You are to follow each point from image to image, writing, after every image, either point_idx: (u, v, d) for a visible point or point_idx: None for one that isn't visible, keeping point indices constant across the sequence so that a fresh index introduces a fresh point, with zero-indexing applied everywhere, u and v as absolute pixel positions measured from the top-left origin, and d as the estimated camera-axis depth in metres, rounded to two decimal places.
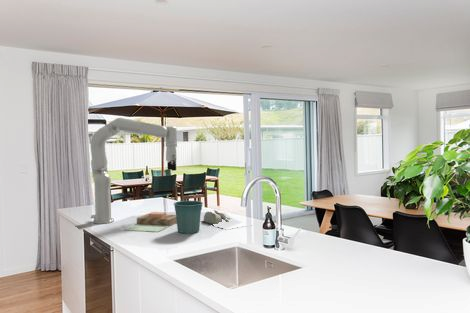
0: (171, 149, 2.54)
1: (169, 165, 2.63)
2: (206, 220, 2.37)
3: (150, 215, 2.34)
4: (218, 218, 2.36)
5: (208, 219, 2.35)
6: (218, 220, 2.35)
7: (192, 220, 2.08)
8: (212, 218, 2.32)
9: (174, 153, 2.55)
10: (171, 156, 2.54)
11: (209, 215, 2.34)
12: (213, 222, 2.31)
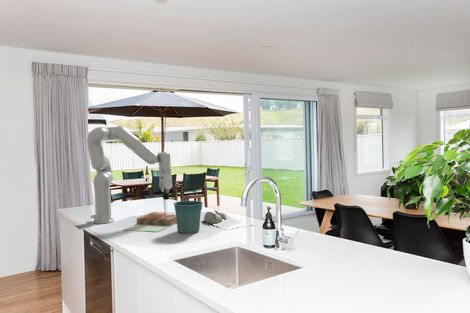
0: None
1: None
2: (206, 220, 2.37)
3: (150, 215, 2.34)
4: (218, 218, 2.36)
5: (208, 219, 2.35)
6: (218, 220, 2.35)
7: (192, 220, 2.08)
8: (212, 218, 2.32)
9: None
10: None
11: (209, 215, 2.35)
12: (213, 222, 2.31)
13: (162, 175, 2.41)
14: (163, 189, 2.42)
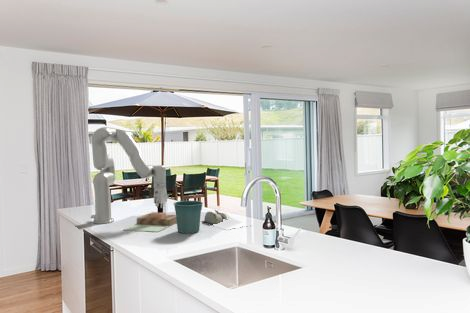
0: None
1: None
2: (207, 220, 2.37)
3: (150, 215, 2.33)
4: (219, 218, 2.36)
5: (209, 219, 2.35)
6: (219, 220, 2.35)
7: (192, 220, 2.08)
8: (213, 218, 2.32)
9: None
10: None
11: (210, 215, 2.35)
12: (214, 222, 2.32)
13: (157, 189, 2.35)
14: (157, 204, 2.35)
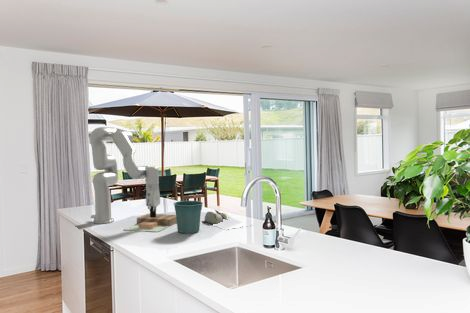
0: None
1: None
2: (207, 220, 2.37)
3: None
4: (219, 218, 2.36)
5: (209, 219, 2.35)
6: (219, 220, 2.35)
7: (192, 220, 2.08)
8: (213, 218, 2.32)
9: None
10: None
11: (210, 215, 2.35)
12: (214, 222, 2.32)
13: (149, 191, 2.25)
14: (150, 206, 2.26)
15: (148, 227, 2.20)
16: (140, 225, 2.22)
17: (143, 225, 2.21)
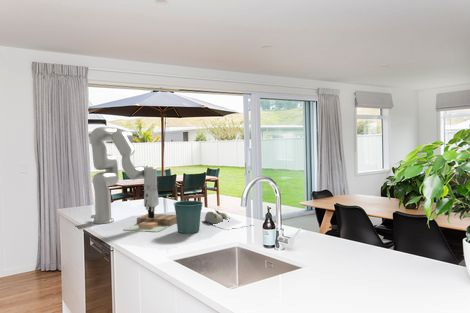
0: None
1: None
2: (207, 220, 2.37)
3: None
4: (219, 218, 2.36)
5: (209, 219, 2.35)
6: (219, 220, 2.35)
7: (192, 220, 2.08)
8: (213, 218, 2.32)
9: None
10: None
11: (210, 215, 2.35)
12: (214, 222, 2.32)
13: (147, 192, 2.23)
14: (148, 207, 2.24)
15: (148, 227, 2.20)
16: (140, 225, 2.22)
17: (143, 225, 2.21)
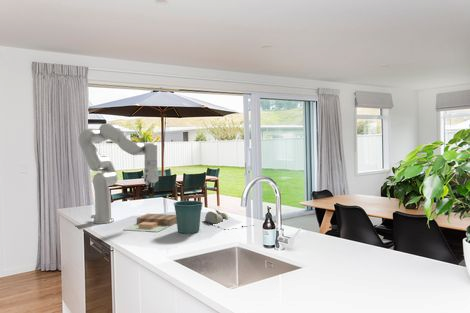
0: None
1: None
2: (207, 220, 2.37)
3: None
4: (219, 218, 2.36)
5: (209, 219, 2.35)
6: (219, 220, 2.35)
7: (192, 220, 2.08)
8: (213, 218, 2.33)
9: None
10: None
11: (210, 215, 2.35)
12: (214, 222, 2.32)
13: (147, 167, 2.27)
14: (147, 182, 2.27)
15: (148, 227, 2.20)
16: (140, 225, 2.22)
17: (143, 225, 2.21)
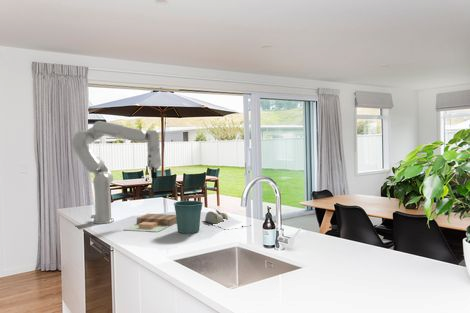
0: None
1: None
2: (208, 220, 2.37)
3: None
4: (220, 218, 2.36)
5: (210, 219, 2.36)
6: (220, 220, 2.35)
7: (192, 220, 2.08)
8: (214, 218, 2.33)
9: None
10: None
11: (211, 215, 2.35)
12: (215, 222, 2.32)
13: (150, 153, 2.39)
14: (151, 167, 2.40)
15: (148, 227, 2.20)
16: (140, 225, 2.22)
17: (143, 225, 2.21)
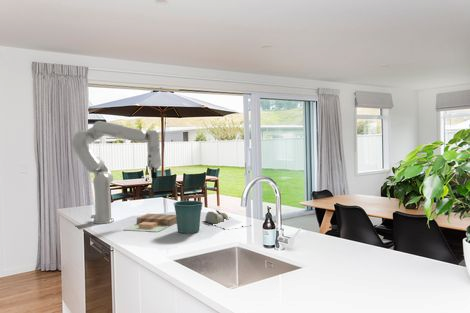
0: None
1: None
2: (208, 220, 2.37)
3: None
4: (220, 218, 2.36)
5: (210, 219, 2.36)
6: (220, 220, 2.35)
7: (192, 220, 2.08)
8: (214, 218, 2.33)
9: None
10: None
11: (211, 215, 2.35)
12: (215, 222, 2.32)
13: (150, 153, 2.39)
14: (151, 167, 2.40)
15: (148, 227, 2.20)
16: (140, 225, 2.22)
17: (143, 225, 2.21)
